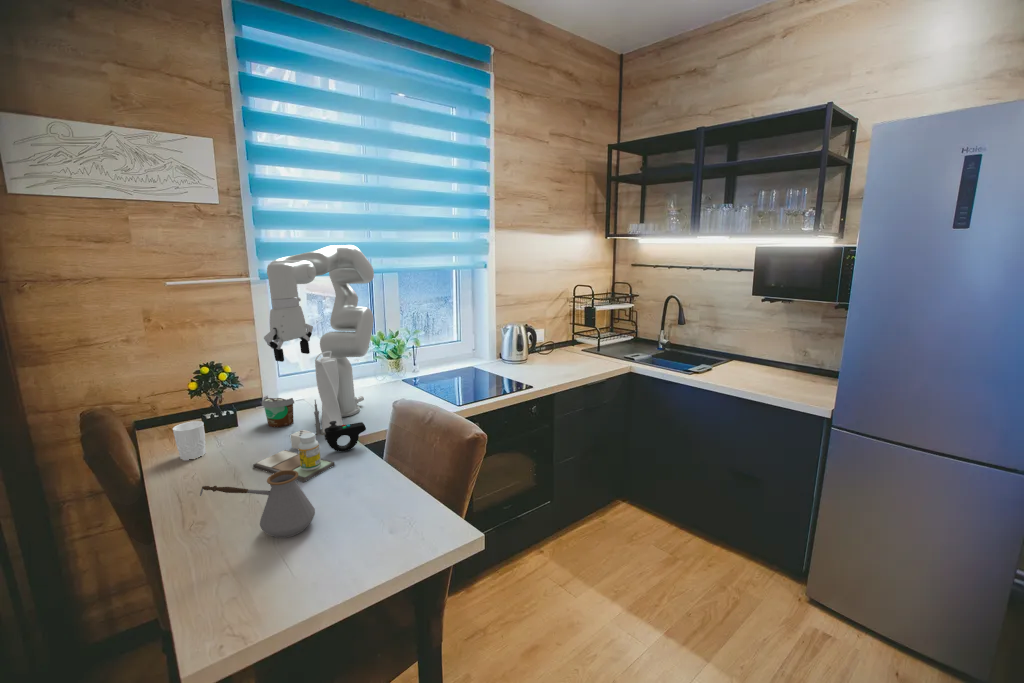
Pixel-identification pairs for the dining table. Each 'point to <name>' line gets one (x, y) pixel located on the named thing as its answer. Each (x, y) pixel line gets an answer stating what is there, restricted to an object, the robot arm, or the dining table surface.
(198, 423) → the white cup
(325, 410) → the skyscraper
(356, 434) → the controller
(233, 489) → the coffee pot
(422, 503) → the dining table surface
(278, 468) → the game strip
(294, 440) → the die
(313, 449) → the supplement bottle
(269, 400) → the food container
